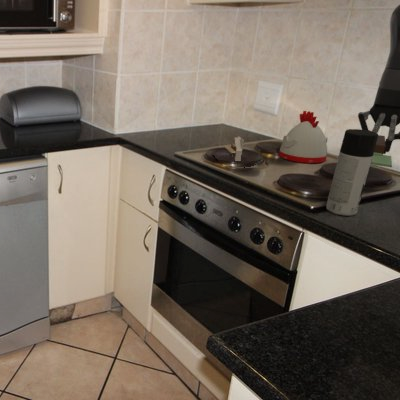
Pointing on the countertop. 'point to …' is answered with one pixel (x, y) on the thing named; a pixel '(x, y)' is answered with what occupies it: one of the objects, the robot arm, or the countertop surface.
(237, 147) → the architectural model
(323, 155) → the kitchen timer
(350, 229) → the countertop surface
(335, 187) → the spray can
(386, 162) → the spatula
